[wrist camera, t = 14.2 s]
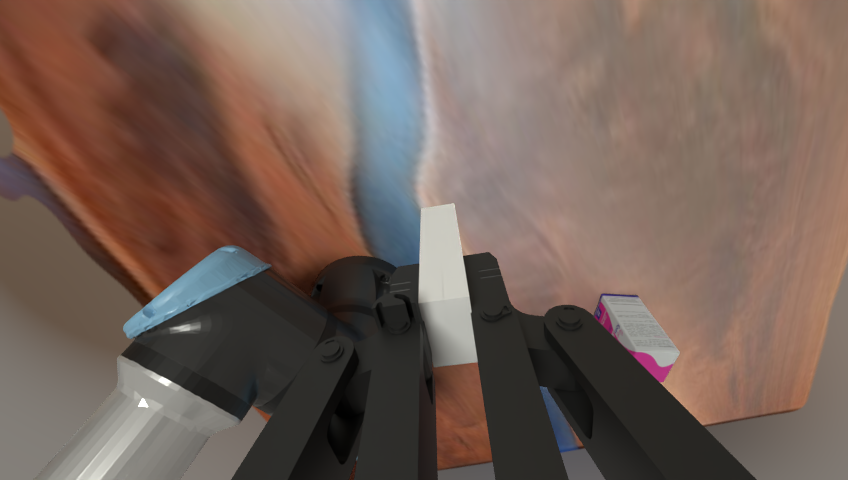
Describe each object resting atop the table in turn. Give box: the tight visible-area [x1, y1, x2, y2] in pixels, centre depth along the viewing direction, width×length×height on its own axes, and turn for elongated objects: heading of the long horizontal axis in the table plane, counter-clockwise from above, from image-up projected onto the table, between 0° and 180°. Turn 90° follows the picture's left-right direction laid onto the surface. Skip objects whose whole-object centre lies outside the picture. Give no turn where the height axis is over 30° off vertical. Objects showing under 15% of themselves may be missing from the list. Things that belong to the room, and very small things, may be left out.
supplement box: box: [594, 294, 680, 382], centre depth 52 cm, size 6×6×12 cm
